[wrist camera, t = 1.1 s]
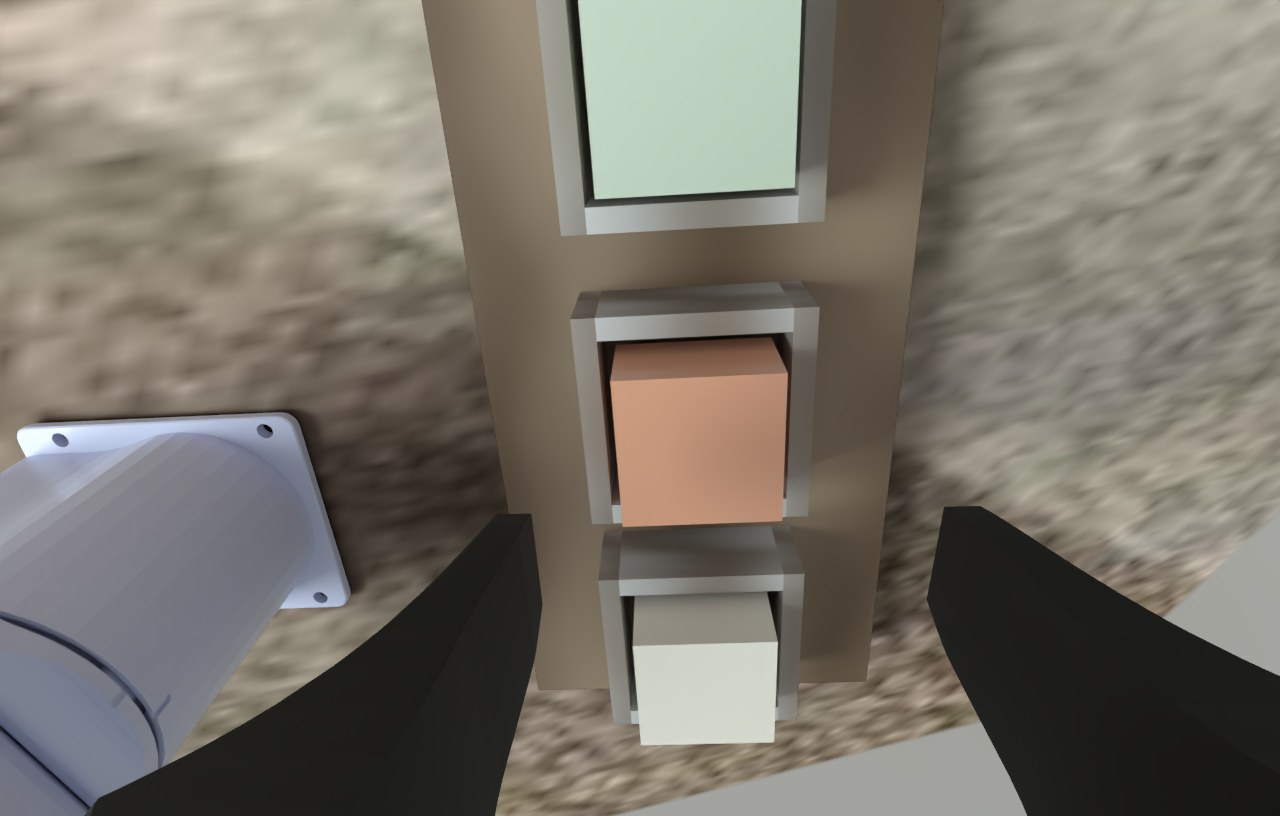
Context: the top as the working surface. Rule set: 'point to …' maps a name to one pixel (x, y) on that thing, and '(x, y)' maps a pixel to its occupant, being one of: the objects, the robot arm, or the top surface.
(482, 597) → the robot arm
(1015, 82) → the top surface
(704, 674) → the cream button
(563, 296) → the button board
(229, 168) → the top surface
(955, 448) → the top surface
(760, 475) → the terracotta button
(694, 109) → the sage button
